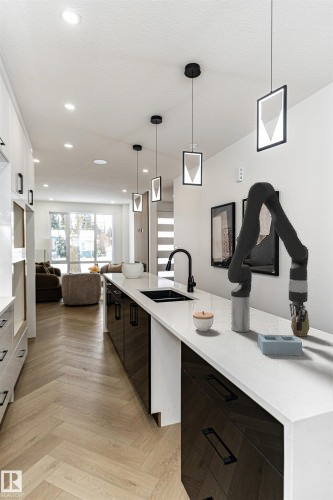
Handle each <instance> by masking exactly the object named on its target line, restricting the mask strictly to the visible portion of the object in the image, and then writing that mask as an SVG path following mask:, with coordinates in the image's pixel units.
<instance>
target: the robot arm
mask: <svg viewBox="0 0 333 500" xmlns="http://www.w3.org/2000/svg"><path fill="white" fill-rule="evenodd" d="M263 205H264V207H266V209H267V210H268V213H269V216H270V218H271V222H272V226H273V228H274V230H275V231H276V234H277V235H278V237H279V238H280V240H281V242H282V243H283V246H284V248H285V251H286V253H287V254H288V256H289V257H290V259H291V262H290V263H291V264H290V265H291V266H290V268H289V281H288V301H290V302H291V303H289V310H290V311H289V312H290V318H291V320H292V319H294V311H295V316H296V330H297V331H302V322H305V318H306V313H307V311H308V310H307V309H305V310H304V305H305V304H304V303H307V302H308V296H309V295H308V294H309V293H308V292H309V290H308V289H309V288H308V286H309V284H308V265H309V263H308V262H309V249H308V247H307V246H306V245H304V244H303V243H302V241H301V240H300V238H299V236H298V232H297V231H296V229H295V228H294V226H293V225H292V222H291V220H289V218H288V215H286V212H285V210H284V209H283V206H282V204H281V202H280V200H279V196H278V194H277V192H276V189H275V187H274V186H273V185H272V184H271V183H270V182H266V181H257V182H254V183H253V184H252V185H250V187H249V190H248V193H247V198H246V205H245V210H244V215H243V219H242V221H241V227H240V230H239V232H238V233H239V234H238V238H237V242H236V246H235V250H234V253H233V256H232V258H231V261H230V264H229V265H228V269H227V279H228V281H229V282H230V283H232V284H238V285H237V286H236V287H235V288H233V289H232V290H231V291H230V300H231V303H230V306H231V307H230V309H231V310H230V311H231V312H230V315H231V316H230V318H231V321H230V329H231V330H232V331H235V332H239V333H248V332H249V331H250V330H251V327H250V326H251V322H250V321H251V319H250V318H251V317H250V316H251V310H250V309H251V303H250V301H251V300H250V299H251V298H250V297H251V295H250V294H251V292H252V280H253V278H252V277H253V275H252V269H251V267H250V266H249V265H248V264H244V262H245V260H246V258H247V257H248V255H250V254H251V252H252V251H253V250H254V249H255V248H256V246H257V244H258V241H259V238H260V235H261V221H260V215H261V211H262V208H263ZM297 314H299V315H297ZM293 328H294V320H293Z"/></svg>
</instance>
